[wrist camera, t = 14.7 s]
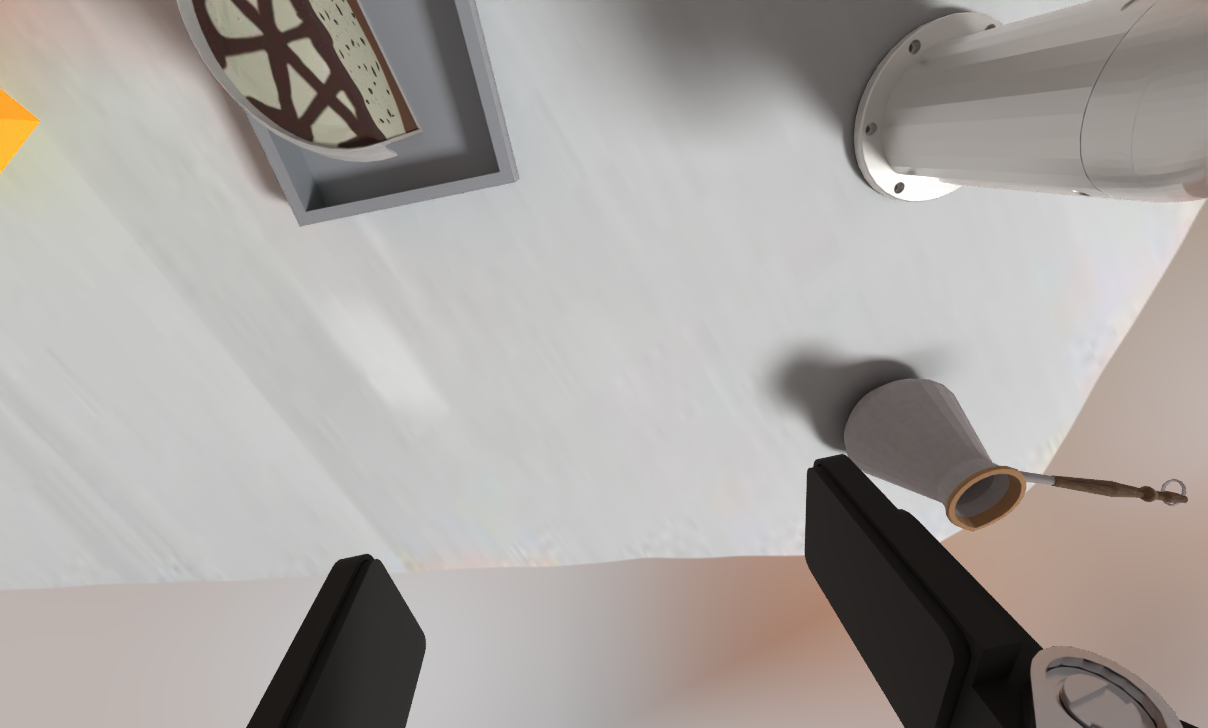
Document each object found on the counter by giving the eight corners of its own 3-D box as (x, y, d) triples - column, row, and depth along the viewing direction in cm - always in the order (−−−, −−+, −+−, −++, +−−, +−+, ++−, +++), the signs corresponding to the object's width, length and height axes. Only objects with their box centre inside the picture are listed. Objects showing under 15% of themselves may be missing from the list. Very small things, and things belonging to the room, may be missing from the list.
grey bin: (443, -125, 26) (425, -168, 23) (519, 178, 34) (514, 182, 30) (195, -75, 26) (139, -111, 23) (327, 218, 34) (299, 226, 30)
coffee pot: (821, 462, 49) (920, 579, 36) (842, 370, 44) (966, 466, 31) (999, 446, 51) (1157, 553, 38) (1039, 356, 46) (1238, 441, 33)
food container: (238, -22, 27) (78, -108, 18) (330, -62, 26) (214, -171, 17) (356, 185, 32) (278, 199, 23) (433, 154, 32) (385, 155, 23)
